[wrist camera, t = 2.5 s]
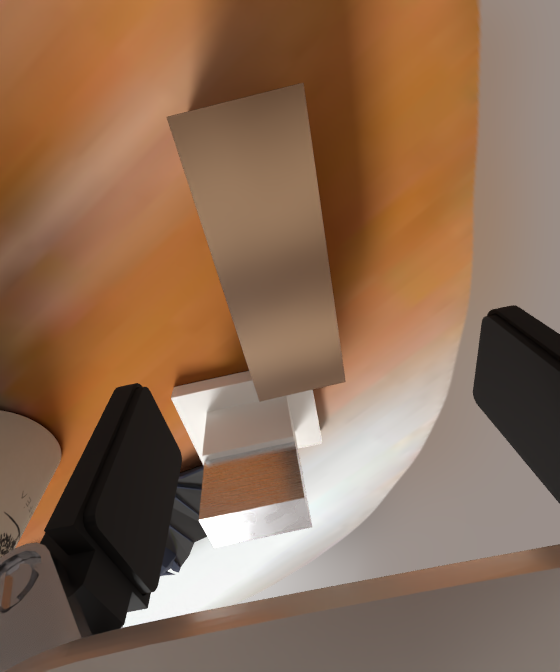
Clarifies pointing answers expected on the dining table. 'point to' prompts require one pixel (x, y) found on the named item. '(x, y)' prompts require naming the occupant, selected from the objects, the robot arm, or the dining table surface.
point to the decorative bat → (184, 520)
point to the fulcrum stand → (248, 456)
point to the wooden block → (266, 234)
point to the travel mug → (23, 473)
